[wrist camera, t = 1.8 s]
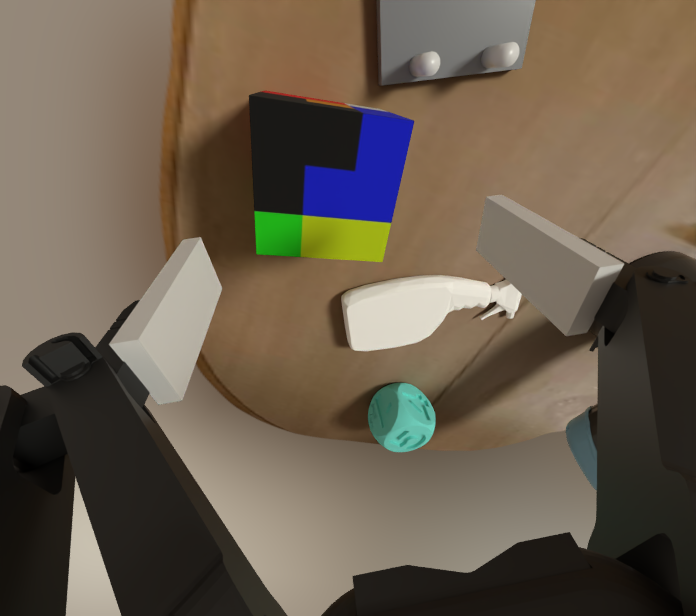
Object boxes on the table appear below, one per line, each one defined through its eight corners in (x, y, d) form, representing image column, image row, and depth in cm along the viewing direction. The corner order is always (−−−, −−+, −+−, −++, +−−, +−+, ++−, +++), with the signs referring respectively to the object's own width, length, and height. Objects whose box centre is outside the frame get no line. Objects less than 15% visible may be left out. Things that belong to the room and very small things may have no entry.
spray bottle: (338, 283, 38) (524, 252, 39) (347, 345, 44) (505, 317, 46) (341, 296, 35) (539, 263, 37) (350, 359, 42) (517, 329, 43)
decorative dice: (391, 376, 50) (405, 419, 43) (426, 389, 53) (443, 431, 47) (363, 403, 53) (372, 447, 47) (397, 414, 56) (410, 456, 50)
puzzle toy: (380, 108, 27) (414, 120, 19) (362, 218, 33) (382, 261, 25) (264, 90, 25) (248, 94, 17) (267, 209, 31) (256, 254, 23)
